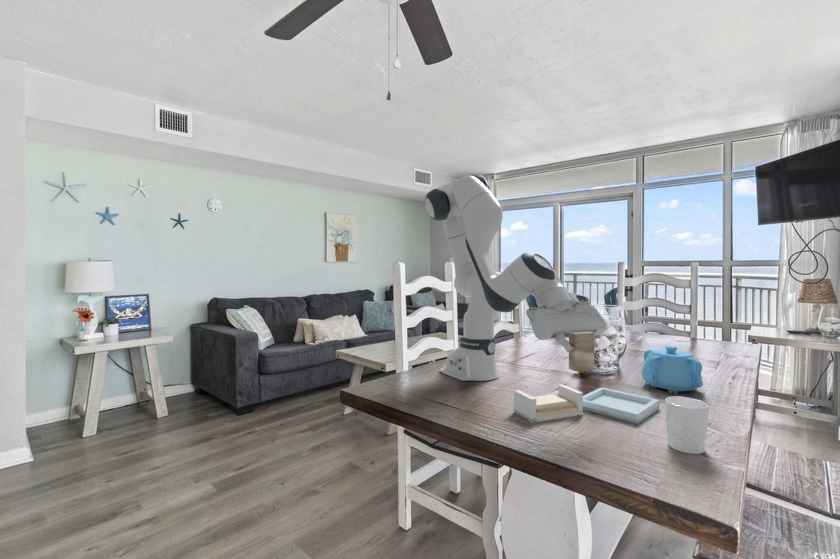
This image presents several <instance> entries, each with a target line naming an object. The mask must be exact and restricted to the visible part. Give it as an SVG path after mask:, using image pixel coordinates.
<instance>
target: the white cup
mask: <svg viewBox="0 0 840 559" xmlns="http://www.w3.org/2000/svg"><path fill="white" fill-rule="evenodd" d="M664 399H665V400H664V402H665V403H664V404H665V424H666V425H665V426H666V433H667V436H666V437H667V444H668V446H669V447H670V448H672V449H673V450H674V451H678V452H681V453H685V454H689V455H690V454H691V455H701V454H704V453H705V451H706V440H707V435H708V434H707V433H708V422H709V409H710V406H709V405H710V404H708V403H707V402H705V401H702V400H700V399H696V398H692V397H687V396H677V395H676V396H675V395H674V396H668V397H666V398H664Z"/></svg>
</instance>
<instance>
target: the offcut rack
mask: <svg viewBox="0 0 840 559" xmlns="http://www.w3.org/2000/svg"><path fill="white" fill-rule="evenodd" d="M557 385H558V386H557V387H558V389H557V390H558V391H557V392H558V393H557V395H555V394H545V395H538V396H531V395H530V394H528V393H526V392H524V391H522V390H519V389H515V390H513V412H514V414H516V415H518V416H520V418H521V417H522V418H523V419H524V420H526V421H527V422H529V423H531V424H534V423H538V422H540V423H541V422H545V421H546V422H547V421H551V420H559V419H565V418H572V417H578V416H577V415H579V416H583V411H584V410H583V396H584V394H583V391H580V390H577V389H574V388H572V387H570V386H567V385H565V384H557Z"/></svg>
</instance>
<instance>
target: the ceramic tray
mask: <svg viewBox="0 0 840 559" xmlns="http://www.w3.org/2000/svg"><path fill="white" fill-rule="evenodd" d="M586 410H587V411H586ZM658 410H660V399H657V398H651V397H647V396H644V395H643V396H642V395H639V394H633V393H629V392H625V391H624V392H623V391H619V390H615V389H611V388H606V387H603V386H602V387H599V388H597V389H595V390H593V391H590V392H588V393H587V394H583V410H582V411H586V412H590V411H591V413H593V412H595V413H594V414H597V413H598V414H597V415H601V416H605V417H608V418H613V419H616V420H619V421H623V422H626V423H628V422H629V423H632V424H635V425H639V424H640V423H641V422H642V421H644V420H645V419H648V417H649V416H651V415H652V414H654V413H656V412H657V411H658Z"/></svg>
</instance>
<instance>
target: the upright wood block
mask: <svg viewBox="0 0 840 559" xmlns="http://www.w3.org/2000/svg"><path fill="white" fill-rule="evenodd" d="M568 341H569V342H572V343H573V345H574V346H575V350H573V352H568V370H571V371H574V372H579V371H584V370H587V371H589V370H595V350H594V333H592V332H588V331H585V332H572V333H569V338H568Z"/></svg>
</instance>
